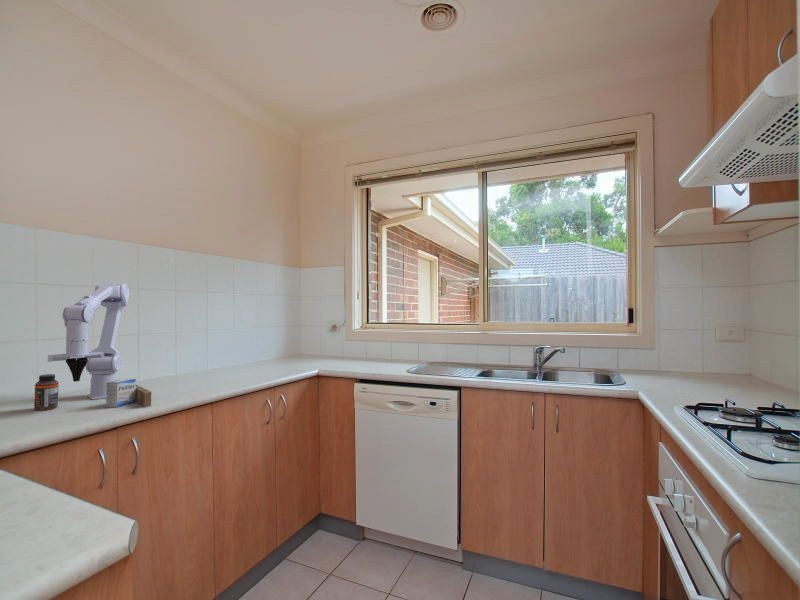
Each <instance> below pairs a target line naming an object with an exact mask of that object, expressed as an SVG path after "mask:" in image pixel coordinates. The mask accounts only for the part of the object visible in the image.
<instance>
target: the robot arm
mask: <svg viewBox="0 0 800 600" xmlns="http://www.w3.org/2000/svg"><path fill="white" fill-rule="evenodd" d="M129 297H130V289H129V286H128V285H127V284H126V283H103V282H98V283H97V284H96V285H95V288H94V292H93V293H92V294H85V295H84V296H83V297H82V298H81V299H80V300H78V301H77V302H76V303H75V304H70V305H68V306H65V307H64V308H63V311H62V320H63V322H64V327H65V328H66V329H65V330H66V334H65V335H66V336H65V337H66V338H65V339H66V341H65V353H59V354H48V355H47V362H49V363H51V362H58V361H59V362H61V361H62V362H63V361H65V362H66V365H67V366H68V368H69V370H70V373H71V375H72V381H73V382H75V383H77V382H80V380H81V376H82V373H83V371H84V369H86V371H87V372H88V373H89V375H90V376H91V378H90V388H89V389H90V390H89V392H90V393H89V394H86V396H87V397H88V398H89V399H91V400H99V399H106V389H107V382H111V381H116V373H117V372H118V371H119V370H120V369H121V366H122V353H121V352H120V351H119V350H118V349H116V347H115V345H116V341H117V337H118V332H119V326H120V322H121V318H122V317H121V316H122V311H123V309H124V307H127V305H128V302H129ZM101 306H103V308H104V307H105V308H106V311H105V315H104V321H103V325H102V330H101V335H100V339H99V343H98V347H96V348H94V349H92V350H91V351H89V323H90V322H91V321H92V319H93V316H94V314H95V312H96V311H97V310H98V309H99V308H100V307H101Z"/></svg>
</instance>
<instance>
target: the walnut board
mask: <svg viewBox="0 0 800 600" xmlns="http://www.w3.org/2000/svg"><path fill="white" fill-rule="evenodd" d="M135 403H136V404H137V405H139V406H142V407H143V408H148V406H150V407H152V391H150V390H148V389H146V388H144V387H142V386H140V385H138V384H136V402H135Z"/></svg>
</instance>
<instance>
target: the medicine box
mask: <svg viewBox="0 0 800 600" xmlns="http://www.w3.org/2000/svg"><path fill="white" fill-rule="evenodd" d="M136 385H137V379H136V378H134V377H133V378H132V377H129V378H128V377H127V378H122V379H118V380H116V379H115V381H111V382H107V389H106V398H105V400H106V401H105V403H106V407H107V408H116V409H117V408H120V407H124V406H128V405H132V404H134V403H136Z"/></svg>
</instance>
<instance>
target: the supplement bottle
mask: <svg viewBox="0 0 800 600" xmlns="http://www.w3.org/2000/svg"><path fill="white" fill-rule="evenodd" d="M59 386H60V385H59V381H58V380H57V379H56V374H54V373H46V374H40V375H39V377H38V381H37V382H36V383H35V384H34V398H33V399H34V400H33V402H34V404H33V405H34V406H33V409H34V411H49V410H53V409H54V410H55V409H56V408H58V406H59V388H60V387H59Z"/></svg>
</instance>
